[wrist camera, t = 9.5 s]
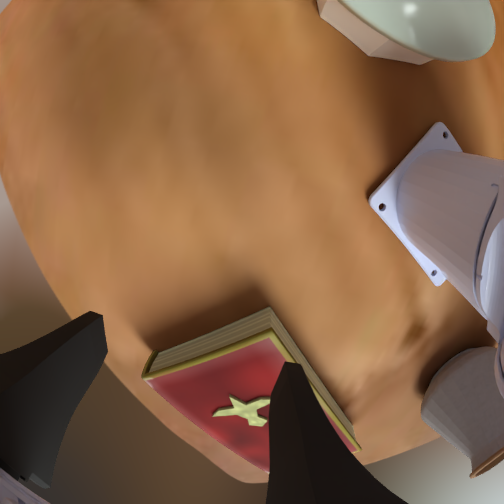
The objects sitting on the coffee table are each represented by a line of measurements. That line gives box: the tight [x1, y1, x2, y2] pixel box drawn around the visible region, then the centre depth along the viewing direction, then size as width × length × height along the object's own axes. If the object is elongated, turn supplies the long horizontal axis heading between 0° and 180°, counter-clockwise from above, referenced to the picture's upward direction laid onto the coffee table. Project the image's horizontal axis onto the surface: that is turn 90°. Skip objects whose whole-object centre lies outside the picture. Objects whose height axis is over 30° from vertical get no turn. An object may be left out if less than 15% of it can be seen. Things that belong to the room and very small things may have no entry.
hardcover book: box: [141, 306, 362, 473], centre depth 22 cm, size 12×21×4 cm, turn 31°
